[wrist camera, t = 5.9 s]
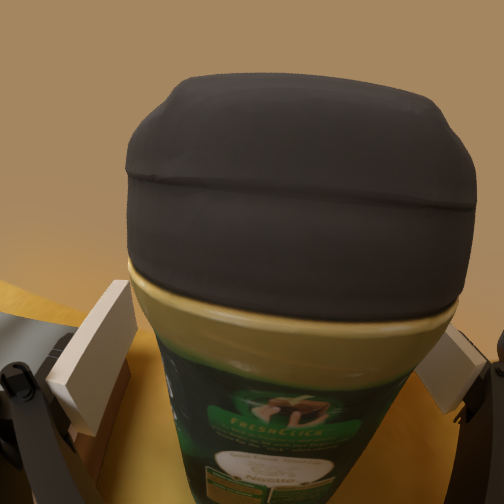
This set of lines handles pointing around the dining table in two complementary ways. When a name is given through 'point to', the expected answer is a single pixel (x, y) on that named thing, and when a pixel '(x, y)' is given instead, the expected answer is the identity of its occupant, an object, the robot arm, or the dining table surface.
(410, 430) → the dining table surface
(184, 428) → the coffee jar
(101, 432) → the tower stand
